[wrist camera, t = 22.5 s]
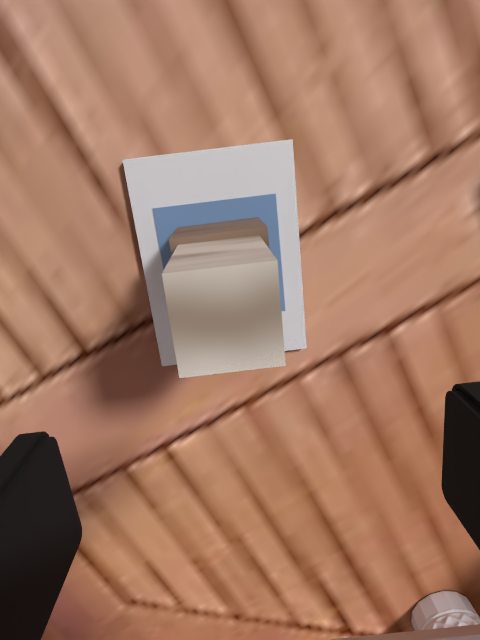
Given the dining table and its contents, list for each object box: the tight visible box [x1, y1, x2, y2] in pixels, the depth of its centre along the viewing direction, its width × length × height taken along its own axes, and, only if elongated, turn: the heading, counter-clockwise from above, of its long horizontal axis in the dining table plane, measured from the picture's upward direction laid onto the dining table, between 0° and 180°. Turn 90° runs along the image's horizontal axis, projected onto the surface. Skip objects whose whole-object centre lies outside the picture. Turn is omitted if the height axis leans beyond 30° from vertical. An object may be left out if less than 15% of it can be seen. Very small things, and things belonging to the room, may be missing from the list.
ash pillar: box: [162, 235, 286, 378], centre depth 23 cm, size 5×5×8 cm
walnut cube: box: [169, 217, 270, 255], centre depth 29 cm, size 6×6×6 cm
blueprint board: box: [123, 139, 307, 366], centre depth 33 cm, size 16×12×1 cm
